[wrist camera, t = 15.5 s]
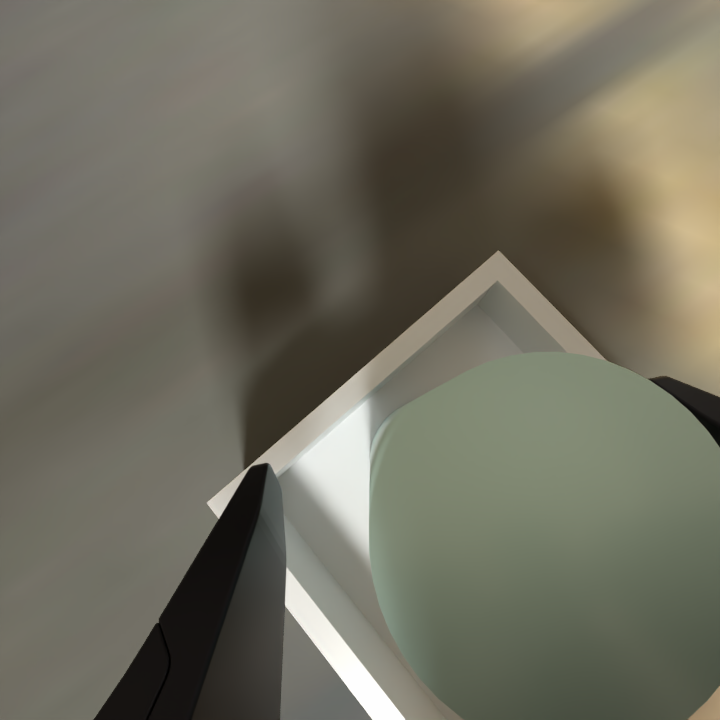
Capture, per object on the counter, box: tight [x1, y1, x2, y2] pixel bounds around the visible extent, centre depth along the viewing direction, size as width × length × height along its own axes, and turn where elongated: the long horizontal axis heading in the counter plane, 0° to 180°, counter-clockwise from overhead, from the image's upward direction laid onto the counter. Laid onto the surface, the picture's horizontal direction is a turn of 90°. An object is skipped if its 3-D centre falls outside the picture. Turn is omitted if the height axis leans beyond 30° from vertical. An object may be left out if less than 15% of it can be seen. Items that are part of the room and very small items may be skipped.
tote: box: [207, 250, 607, 720], centre depth 16 cm, size 16×14×4 cm
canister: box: [369, 352, 720, 720], centre depth 11 cm, size 5×5×12 cm
